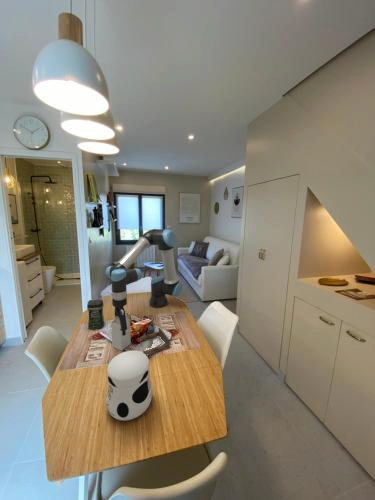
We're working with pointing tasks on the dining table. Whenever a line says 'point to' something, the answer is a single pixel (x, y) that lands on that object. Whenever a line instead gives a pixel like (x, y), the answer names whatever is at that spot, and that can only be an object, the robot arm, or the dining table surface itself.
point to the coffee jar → (95, 314)
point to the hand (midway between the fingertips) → (120, 333)
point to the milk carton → (117, 334)
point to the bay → (149, 343)
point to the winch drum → (151, 328)
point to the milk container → (128, 385)
